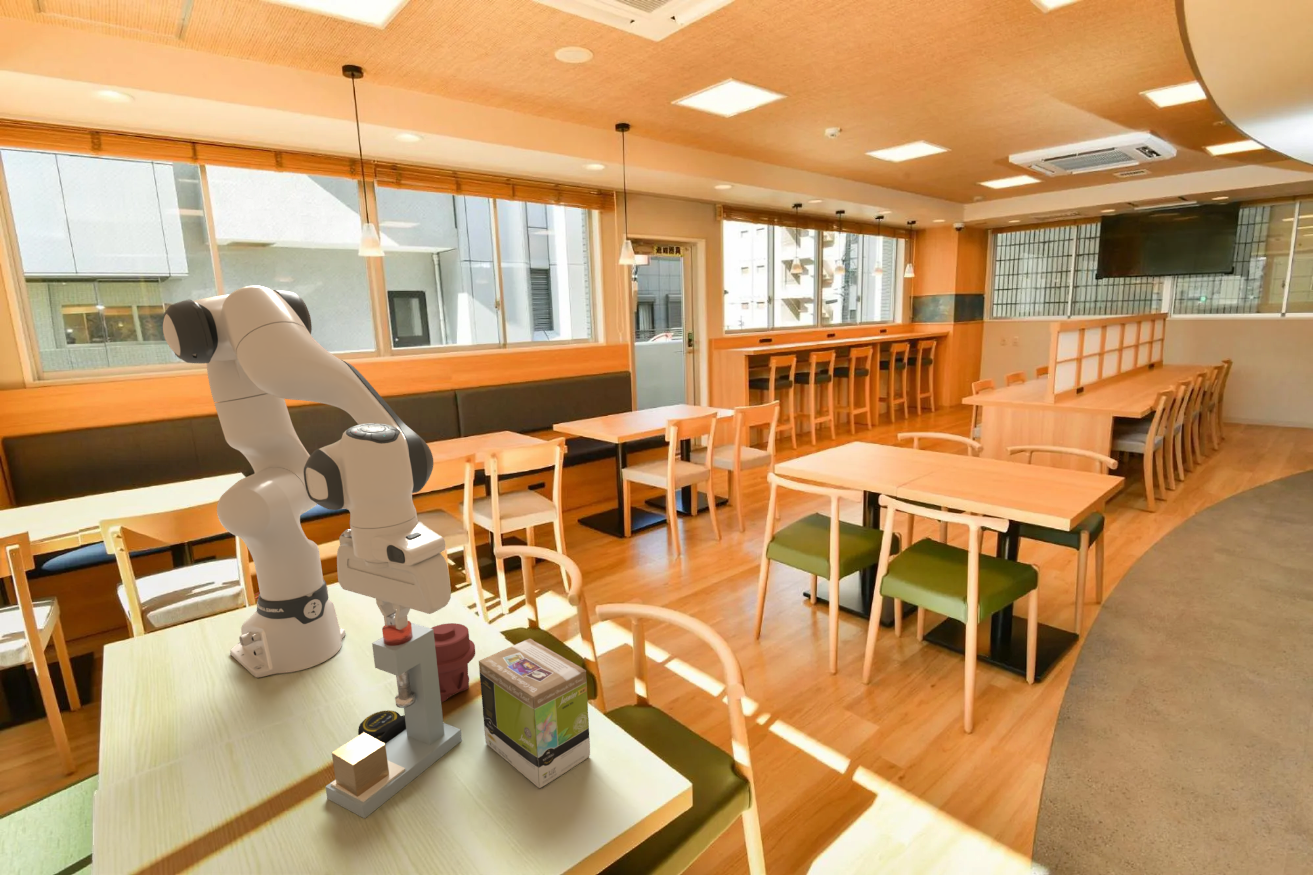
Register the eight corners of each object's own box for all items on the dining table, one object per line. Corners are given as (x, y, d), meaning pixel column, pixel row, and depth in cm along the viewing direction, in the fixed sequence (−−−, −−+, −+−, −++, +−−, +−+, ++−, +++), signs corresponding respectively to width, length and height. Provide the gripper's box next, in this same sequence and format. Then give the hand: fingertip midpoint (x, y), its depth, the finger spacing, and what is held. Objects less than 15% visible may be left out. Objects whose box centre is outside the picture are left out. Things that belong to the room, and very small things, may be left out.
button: (385, 705, 98) (376, 629, 95) (407, 691, 101) (398, 617, 99) (404, 713, 96) (394, 635, 93) (425, 698, 99) (417, 623, 97)
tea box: (593, 756, 100) (588, 668, 97) (539, 791, 93) (531, 698, 90) (536, 715, 110) (530, 634, 107) (483, 744, 103) (475, 659, 100)
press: (327, 798, 92) (307, 671, 88) (426, 726, 108) (414, 614, 104) (364, 818, 89) (346, 686, 85) (461, 740, 104) (450, 625, 100)
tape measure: (379, 761, 100) (377, 740, 99) (350, 748, 103) (347, 727, 102) (415, 735, 106) (412, 715, 105) (386, 723, 109) (383, 703, 108)
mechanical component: (488, 678, 121) (461, 710, 112) (439, 673, 123) (409, 705, 114) (482, 617, 119) (455, 645, 109) (432, 613, 121) (401, 640, 111)
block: (336, 783, 92) (331, 752, 91) (368, 762, 96) (363, 732, 95) (357, 796, 89) (352, 764, 88) (389, 774, 94) (385, 743, 93)
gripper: (320, 534, 95) (332, 620, 98) (417, 556, 86) (428, 652, 88) (357, 521, 101) (368, 603, 104) (453, 540, 91) (462, 631, 94)
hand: (396, 626), depth 96 cm, fingers closed, pressing on button
